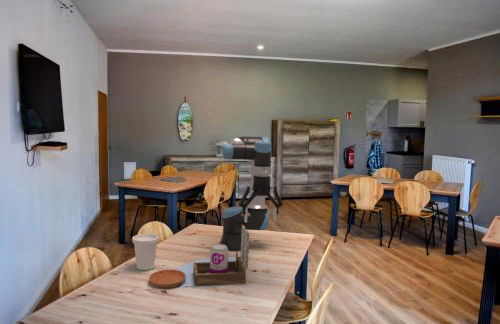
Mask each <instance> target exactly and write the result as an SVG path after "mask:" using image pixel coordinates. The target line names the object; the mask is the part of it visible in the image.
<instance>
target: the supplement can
mask: <svg viewBox="0 0 500 324" xmlns="http://www.w3.org/2000/svg"><path fill="white" fill-rule="evenodd" d="M209 251H210V252H209V262H210V273H209V274H212V273H229V272H228V261H229V250H228V248H227V246H226V245H222V244H220V243H219V244H217V243H216V244H213V245H212V246H211V247H210V250H209Z"/></svg>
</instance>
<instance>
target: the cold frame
mask: <svg viewBox="0 0 500 324" xmlns="http://www.w3.org/2000/svg"><path fill="white" fill-rule="evenodd" d="M248 231H249V230H246V228H245V227H244V225H242V228H241V250H240V256H239V252H238V251H235V260H231V261H230V260H228V273H212V274H210V261H203V262H202V261H201V262H193V271H192V273H193V280H194V287H209V286H228V285H232V286H233V285H246V277H247V276H246V273H247V270H248V269H249V250H250V246H249V245H250V233H249V232H248ZM199 273H200V274H199Z"/></svg>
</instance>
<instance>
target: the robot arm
mask: <svg viewBox="0 0 500 324" xmlns="http://www.w3.org/2000/svg"><path fill="white" fill-rule="evenodd" d="M272 154H273V153H272V143H271V139H270V138H269V137H268V136H267V137H266V136H239V137H236V138H235V137H234V138H233V139H230V141H229V142H228V143H224V144H223V147H222V157H223V159H224V160H230V161H231V160H240V161H241V160H245V161H249V162H250V163H251V168H250V169H251V171H250V173H251V174H250V186H249V185H246V187H245V191H244V193H243V194H242V197H241V199H240V200H239V202H238V206H231V207H226V208H225V209H224V210H223V216H222V218H223V219H222V221H223V224H222V235H221V238H220V241H219V244H222V245H226V246H227V248H228V252H229V251H231V252H234V251H235V252H238V251H241V228H242V225H244V227H245V228H246V230H247V231H266V230H267V229H268V226H269V223H270V213H271V212H270V210H269V209H268V206H267V205H266V196H267V198H268V199H269V200H270V201H271V203H272V204H273V205H274V206H273V207H272V208H273V209H272V210H273V211H272V221H273V222H277V215H278V214H279V209H280V207H282V206H283V205H284V204H283V201H282V200H281V198H280V195H279V193H278V189H277V186H276V185H272V186H271V162H272V161H271V159H272ZM270 190H271V191H272V192H273V194H274V196H275V198H273V196H272V195H271V193H270ZM249 194H250V196H249ZM247 197H248V198H247ZM275 199H276V200H275Z"/></svg>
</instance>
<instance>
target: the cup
mask: <svg viewBox="0 0 500 324" xmlns="http://www.w3.org/2000/svg"><path fill="white" fill-rule="evenodd" d="M159 237H160V236H159V235H158V234H154V233H140V234H136V235H134V236H132V239H131V242H132V244H134V254H135V263H136V270H138V271H139V272H140V271H141V272H147V271H148V272H149V271H152V270H154V269H155V262H156V254H157V247H158V243H159V240H160V238H159Z"/></svg>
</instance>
